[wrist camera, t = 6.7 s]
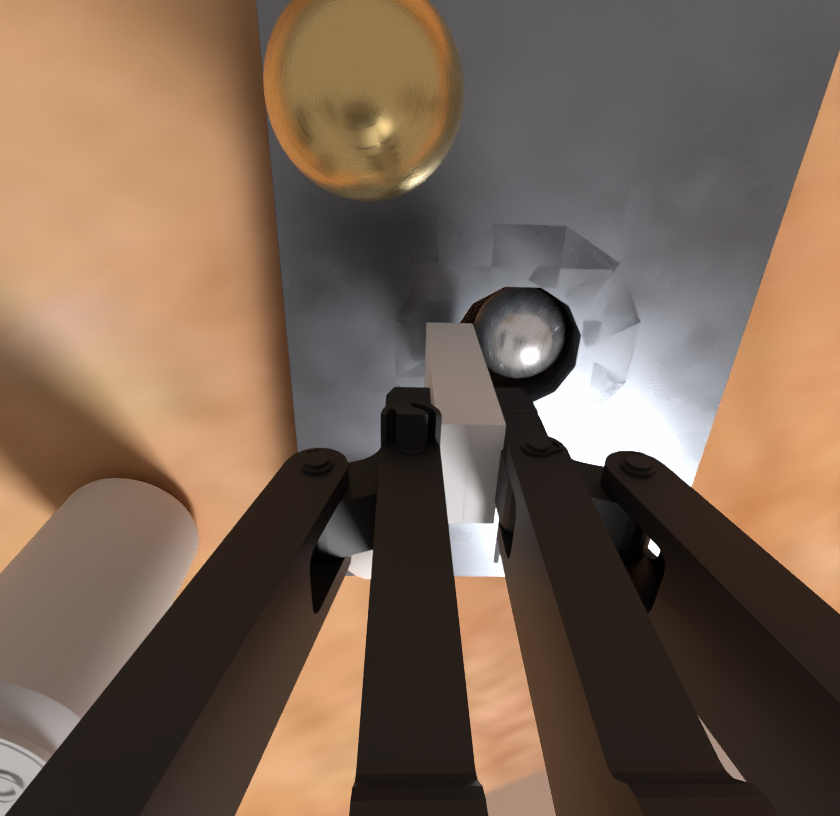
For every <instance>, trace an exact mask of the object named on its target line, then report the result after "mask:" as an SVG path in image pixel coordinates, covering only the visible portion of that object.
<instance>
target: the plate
mask: <svg viewBox="0 0 840 816" xmlns="http://www.w3.org/2000/svg"><path fill="white" fill-rule="evenodd" d="M290 1H291V0H256V6H257V17H258V28H259V39H260V49H261V60H262V71H264V60H265V55H266V50H267V45H268V42H269V39H270V36H271V33H272V30H273V28H274V26H275V24H276V22H277V20H278V18H279V16H280V14H281V13H282V11H283V10H284V8H285V7H286V5H287V4H288V3H289V2H290ZM429 1H430V2H431V3H432V4H433V5H434V7H435V8H436V9H437V10H438V11H439V13H440V14H441V16H442V17H443V19H444V21H445V22H446V24H447V25H448V27H449V29H450V31H451V34H452V36H453V38H454V40H455V43H456V46H457V49H458V52H459V55H460V60H461V64H462V68H463V77H464V104H463V113H462V118H461V122H460V126H459V130H458V132H457V135H456V138H455V141H454V143H453V145H452V147H451V149H450V151H449V153H448V154H447V156H446V157H445V159H444V160H443V162H442V163H441V165H440V166H439V167H438V168H437V170H436V171H435V172H434V173H433V174H432V175H431V176H430V177H429V178H428V179H427V180H425V181H424V182H423V183H422V184H420V185H419V186H417V187H416V188H414V189H413V190H411V191H409V192H407V193H405V194H403V195H401V196H398V197H395V198H392V199H387V200H382V201H368V202H366V201H356V200H351V199H347V198H343V197H340V196H337V195H335V194H332V193H330V192H328V191H326V190H324V189H323V188H321V187H319V186H318V185H316V184H315V183H314V182H312V181H311V180H309V179H308V178H307V177H306V176H305V175H304V174H303V173H302V172H301V171H300V170H299V169H298V168H297V167H296V166H295V165H294V163H293V162H292V161H291V160H290V159H289V157H288V156H287V154H286V153H285V151H284V150H283V148H282V147H281V145H280V143H279V141H278V139H277V137H276V135H275V133H274V130H273V128H272V125H271V122H270V119H269V116H268V112H267V108H266V114H267V125H268V136H269V147H270V158H271V168H272V179H273V190H274V201H275V212H276V223H277V233H278V244H279V255H280V266H281V277H282V287H283V298H284V309H285V320H286V331H287V342H288V352H289V363H290V374H291V385H292V396H293V407H294V417H295V428H296V439H297V450H298V452H300V451H303V450H306V449H310V448H311V449H312V448H329V449H333V450H336V451H339V452H340V453H342V454H343V455H345V457H346V459H347V461H348V462H353V461H358V460H362V459H365V458H367V457H370V456H372V455H373V454H375V453H376V452H378V450H379V449H380V448H381V412H382V410H383V408H385V404H386V395H387V394H388V393H389V392H390V391H391V390H392V389H393V388H394V387H424V373H425V348H426V322H429V323H460V321H461V320H462V319H463V317H464V316H465V314H466V313H467V311H468V310H469V308H470V307H471V305H472V304H473V303H475V302H477V301H479V300H481V299H482V298H484V297H486V296H488V295H490V294H492V293H494V292H496V291H498V290H500V289H502V288H504V287H537V288H543V289H544V290H546V291H547V292H549V293H550V294H552V296H553V299H554V301H555V302H556V303H557V305H558V306H559V307H560V309H561V311H562V313H563V316H564V319H565V324H566V338H565V343H564V346H563V349H562V351H561V353H560V355H559V356H558V358H557V359H556V361H555V362H554V363H553V364H552V365H551V366H550V367H549V368H547V369H546V370H544V371H543V372H541V373H539V374H537V375H534V376H531V377H527V378H510V377H506V376H503V375H500V374H498V373H496V372H494V371H493V370H491V369H490V368H487V369H488V372H489V375H490V378H491V381H492V384H493V387H498V388H520V389H522V390H523V391H524V392H526V393H527V394H528V395H529V396H531V398H532V401H533V403H534V405H535V408H536V409H537V412H538V416H540V418H541V420H542V423H543V425H544V427H545V429H546V431H547V434H548V436H550V437H553V438H555V439H556V440H558V441H560V442H562V443H563V444H564V446H565V447H566V448H567V449H568V452H569V454H570V456H571V458H572V459H574V460H577V461H581V462H585V463H590V464H595V465H600V466H604V463H605V459H606V457H607V456H608V455H609V454H610V453H613V452H617V451H636V452H637V451H638V452H642V453H645V454H646V455H649V456H652V457H654V458H656V459H657V460H659V461H660V462H662V463H663V464H665V465H666V466H667V467H668V468H669V469H671V470H672V471H673V472H674V473H675V474H676V475H678V476H679V477H680V478H681V479H682V480H683V481H685V482H686V483H687V484H688V485H689V486H690V487H691V486H692V483H693V481H694V478H695V475H696V472H697V469H698V466H699V463H700V460H701V457H702V454H703V451H704V448H705V445H706V442H707V439H708V436H709V433H710V430H711V428H712V425H713V422H714V419H715V416H716V413H717V410H718V407H719V404H720V401H721V398H722V395H723V392H724V389H725V386H726V383H727V380H728V377H729V374H730V372H731V369H732V366H733V363H734V360H735V357H736V354H737V351H738V348H739V345H740V342H741V339H742V336H743V333H744V330H745V327H746V324H747V321H748V319H749V316H750V313H751V310H752V307H753V304H754V301H755V298H756V295H757V292H758V289H759V286H760V283H761V280H762V277H763V274H764V271H765V268H766V266H767V263H768V260H769V257H770V254H771V251H772V248H773V245H774V242H775V239H776V236H777V233H778V230H779V227H780V224H781V221H782V218H783V215H784V212H785V210H786V207H787V204H788V201H789V198H790V195H791V192H792V189H793V186H794V183H795V180H796V177H797V174H798V171H799V168H800V165H801V162H802V159H803V157H804V154H805V151H806V148H807V145H808V142H809V139H810V136H811V133H812V130H813V127H814V124H815V121H816V118H817V115H818V112H819V109H820V106H821V103H822V101H823V98H824V95H825V92H826V89H827V86H828V83H829V80H830V77H831V74H832V71H833V68H834V65H835V62H836V59H837V56H838V53H839V50H840V0H429ZM265 104H266V103H265ZM498 522H499V517H498V513H497V509H495V517H494V524H489V523H448V525H449V534H450V543H451V552H452V561H453V571H454V576H505V574H504V569H503V565H502V560H501V555H500V556H499V561H498V563H494V553H495V545H496V537H497V530H498ZM648 548H649V549H650V550H651V551H652V552H653V553H654V554H655V555H656V556H658V555H659V552H660V550H659V548H658V547H657V545H656V544H655V543H654V542H653V541H652V540H650V543H649V546H648ZM346 575H348V576H356V575H354V574H353V573H351V572H350V571H348V570H347V572H346Z"/></svg>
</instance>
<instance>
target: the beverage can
mask: <svg viewBox="0 0 840 816" xmlns="http://www.w3.org/2000/svg"><path fill="white" fill-rule="evenodd" d="M198 545H199V534H198V529H197V526H196V524H195V521H194V519H193V517H192V516H191V514H190V513H189V512H188V510H187V509H186V508H185V507H184V506H183V505H182V504H181V503H180V502H179V501H178V500H177V499H176V498H174V497H173V496H172V495H170V494H169V493H167V492H165V491H164V490H162V489H160V488H158V487H156V486H154V485H151V484H148V483H145V482H142V481H138V480H133V479H126V478H107V479H101V480H96V481H93V482H90V483H88V484H86V485H84V486H82V487H81V488H79V489H77V490H76V491H75V492H73V493H72V494H71V495H70V496H69V498H68V499H67V500H66V501H65V502H64V503H63V504H62V505H61V506H60V508H59V509H58V510H57V511H56V512H55V513H54V514H53V515H52V517H51V518H50V519H49V520H48V521H47V522H46V523H45V524H44V526H43V527H42V528H41V529H40V530H39V531H38V532H37V533H36V534H35V536H34V537H33V538H32V539H31V540H30V541H29V542H28V543H27V545H26V546H25V547H24V548H23V549H22V550H21V551H20V552H19V553H18V555H17V556H16V557H15V558H14V559H13V560H12V561H11V562H10V564H9V565H8V566H7V567H6V568H5V569H4V570H3V571H2V572H1V574H0V816H4V815H5V814H6V813H7V812H8V810H9V809H10V808H11V807H12V805H13V804H14V803H15V802H16V800H17V799H18V798H19V797H20V795H21V794H22V793H23V792H24V790H25V789H26V788H27V787H28V785H29V784H30V783H31V782H32V780H33V779H34V778H35V776H36V775H37V774H38V773H39V771H40V770H41V769H42V768H43V766H44V765H45V764H46V763H47V761H48V760H49V759H50V758H51V756H52V755H53V754H54V753H55V751H56V750H57V749H58V748H59V746H60V745H61V744H62V743H63V741H64V740H65V739H66V737H67V736H68V735H69V734H70V732H71V731H72V730H73V729H74V727H75V726H76V725H77V724H78V722H79V721H80V720H81V719H82V717H83V716H84V715H85V714H86V712H87V711H88V710H89V709H90V707H91V706H92V705H93V704H94V702H95V701H96V700H97V698H98V697H99V696H100V695H101V693H102V692H103V691H104V690H105V688H106V687H107V686H108V685H109V683H110V682H111V681H112V680H113V678H114V677H115V676H116V675H117V673H118V672H119V671H120V670H121V668H122V667H123V666H124V664H125V663H126V662H127V661H128V659H129V658H130V657H131V656H132V654H133V653H134V652H135V651H136V649H137V648H138V647H139V646H140V644H141V643H142V642H143V641H144V639H145V638H146V637H147V636H148V634H149V633H150V632H151V631H152V629H153V628H154V627H155V625H156V624H157V623H158V622H159V620H160V619H161V618H162V617H163V615H164V614H165V613H166V612H167V610H168V609H169V608H170V607H171V605H172V603H173V601H174V599H175V597H176V595H177V593H178V591H179V589H180V587H181V585H182V583H183V580H184V578H185V576H186V574H187V572H188V570H189V568H190V566H191V564H192V562H193V560H194V558H195V555H196V553H197V550H198Z"/></svg>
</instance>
